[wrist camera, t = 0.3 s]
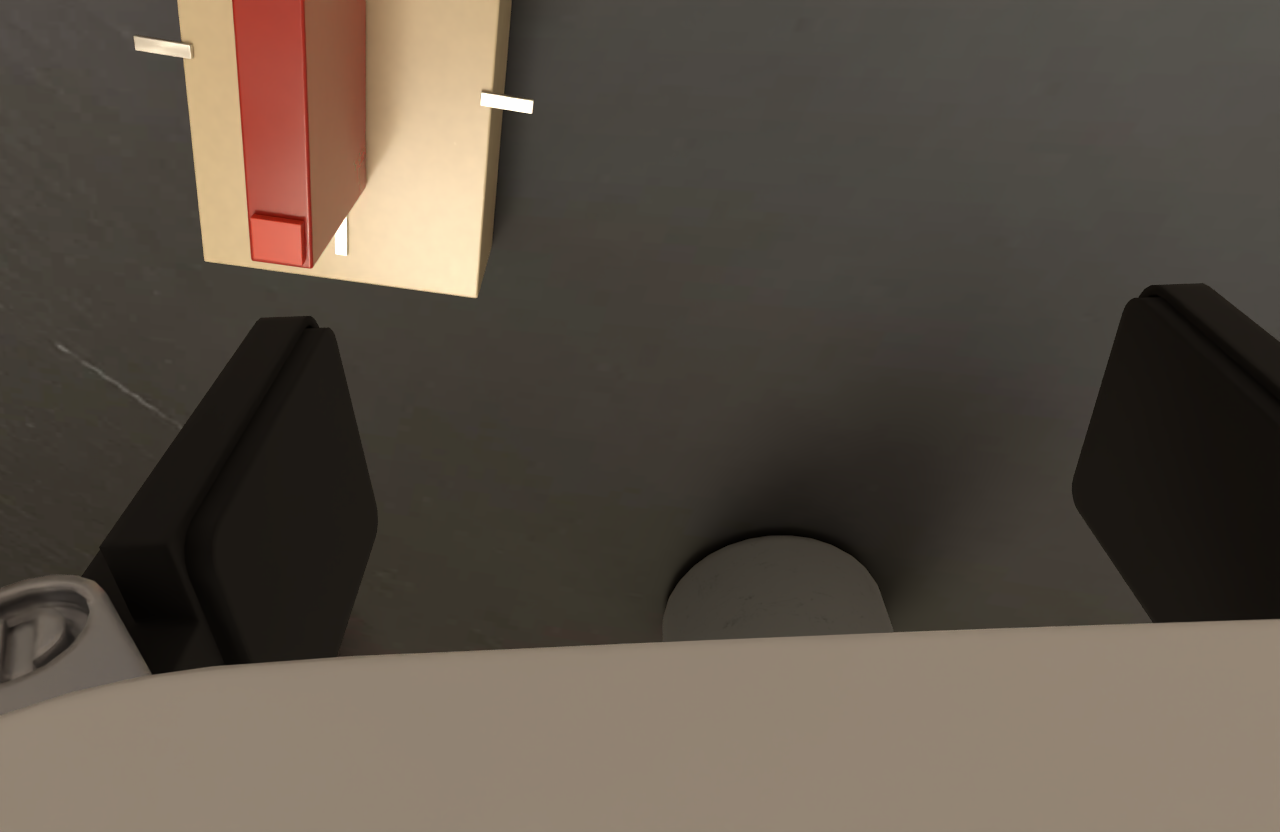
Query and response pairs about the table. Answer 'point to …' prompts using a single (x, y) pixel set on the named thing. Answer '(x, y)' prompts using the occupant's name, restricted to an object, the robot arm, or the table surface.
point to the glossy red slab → (300, 121)
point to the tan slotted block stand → (373, 142)
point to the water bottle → (775, 593)
